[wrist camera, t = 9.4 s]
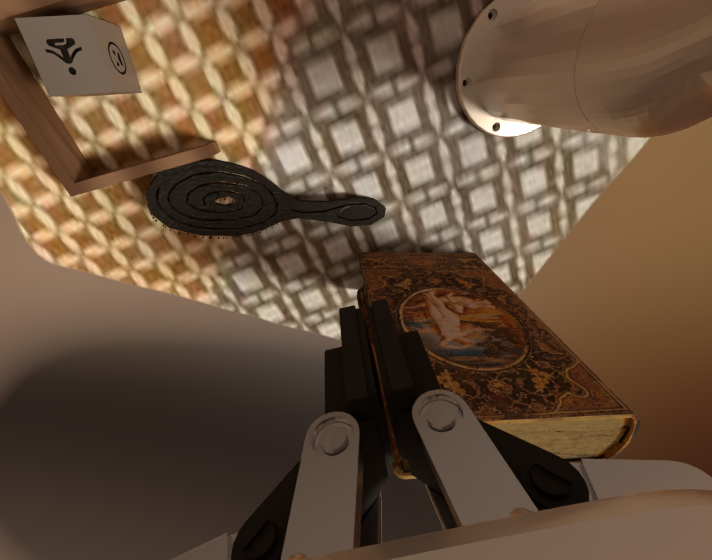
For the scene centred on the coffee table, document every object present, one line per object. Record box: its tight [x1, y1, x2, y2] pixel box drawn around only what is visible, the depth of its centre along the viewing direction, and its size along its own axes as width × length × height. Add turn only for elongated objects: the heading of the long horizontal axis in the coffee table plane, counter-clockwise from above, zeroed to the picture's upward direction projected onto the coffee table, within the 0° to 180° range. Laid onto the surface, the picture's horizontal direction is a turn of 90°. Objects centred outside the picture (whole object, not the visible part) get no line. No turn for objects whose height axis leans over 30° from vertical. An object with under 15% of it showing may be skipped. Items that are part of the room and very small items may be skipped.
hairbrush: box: [145, 160, 386, 239], centre depth 36 cm, size 8×4×25 cm
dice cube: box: [15, 14, 142, 96], centre depth 28 cm, size 5×5×5 cm
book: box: [357, 252, 640, 479], centre depth 33 cm, size 16×6×25 cm, turn 87°
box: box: [0, 0, 221, 196], centre depth 30 cm, size 14×14×4 cm
